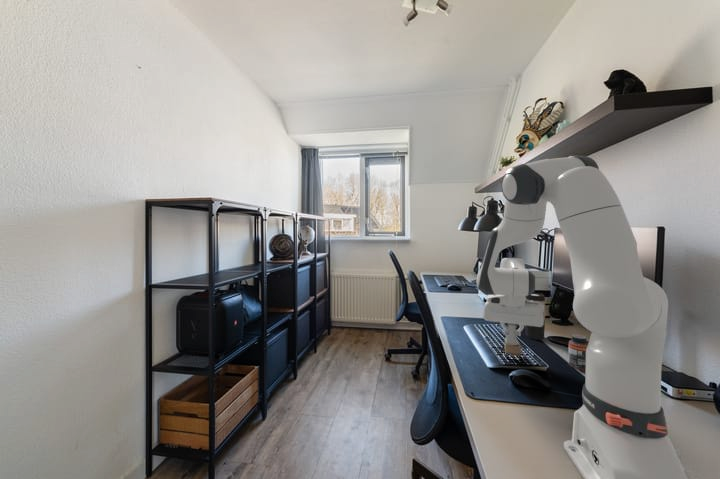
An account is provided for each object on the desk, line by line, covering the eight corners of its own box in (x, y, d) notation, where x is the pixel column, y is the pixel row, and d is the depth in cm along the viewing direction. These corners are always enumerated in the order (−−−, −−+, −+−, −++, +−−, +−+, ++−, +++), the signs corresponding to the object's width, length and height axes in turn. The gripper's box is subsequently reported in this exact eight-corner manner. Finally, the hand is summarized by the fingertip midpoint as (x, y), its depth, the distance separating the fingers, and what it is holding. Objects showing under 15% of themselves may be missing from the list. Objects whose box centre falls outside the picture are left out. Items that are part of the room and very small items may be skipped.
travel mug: (521, 335, 124) (521, 293, 124) (531, 332, 128) (531, 291, 127) (538, 341, 118) (538, 296, 117) (548, 338, 121) (548, 295, 120)
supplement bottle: (581, 363, 97) (582, 333, 97) (594, 372, 91) (595, 339, 91) (564, 363, 98) (564, 332, 97) (576, 371, 92) (576, 339, 91)
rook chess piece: (520, 346, 99) (520, 325, 99) (507, 345, 100) (507, 324, 100) (515, 341, 104) (516, 321, 103) (503, 340, 105) (503, 320, 104)
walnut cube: (520, 360, 99) (520, 347, 99) (505, 357, 101) (505, 344, 101) (518, 354, 103) (519, 342, 103) (504, 352, 105) (504, 340, 105)
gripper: (542, 299, 100) (541, 335, 101) (483, 294, 109) (482, 328, 109) (546, 303, 95) (545, 341, 95) (483, 298, 103) (483, 333, 103)
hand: (511, 334), depth 102 cm, fingers closed on rook chess piece, 3 cm apart
